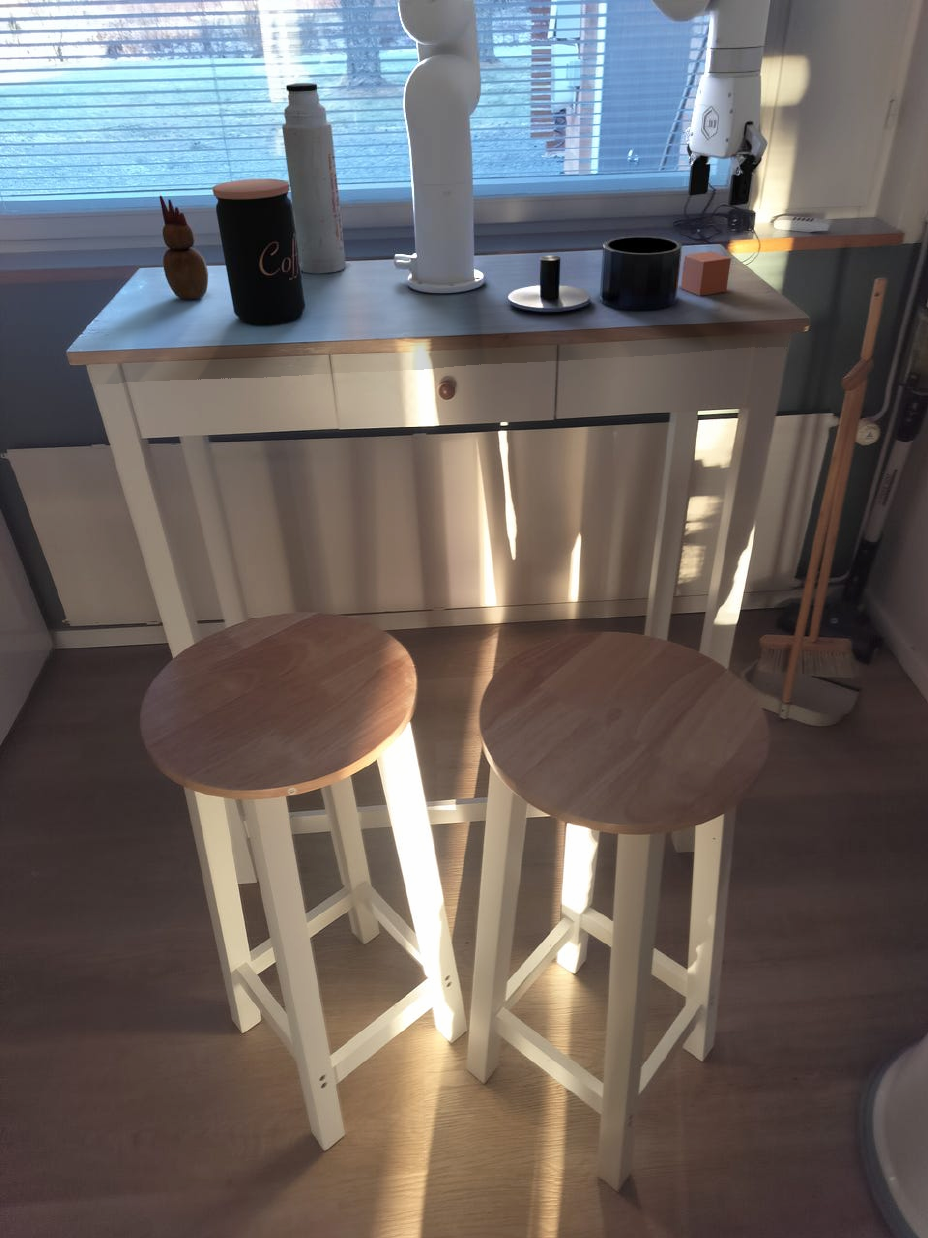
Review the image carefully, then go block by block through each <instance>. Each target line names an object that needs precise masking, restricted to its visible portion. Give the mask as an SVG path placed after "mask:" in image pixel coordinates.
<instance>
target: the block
mask: <svg viewBox="0 0 928 1238" xmlns="http://www.w3.org/2000/svg"><path fill="white" fill-rule="evenodd" d="M683 257H684V258H683V267H682V275H681V284H680V289H681V290H684V291H687V292H689V293H692V294H694V295H696V296H699V297H700V296H709V295H713V294H720V293H726V292H727V287H728V281H729V274H730V267H731V260H732V258H731V257H729V256H726V255H723V254H720V253H717V252H715V251H712V250H711V251H703V252H697V253H689V254H684V256H683Z"/></svg>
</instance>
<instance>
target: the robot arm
mask: <svg viewBox="0 0 928 1238" xmlns="http://www.w3.org/2000/svg"><path fill="white" fill-rule="evenodd" d="M650 2H651V3H652V4H653V5H654V6H655V8H657V10H658V11H659V12H660V13H661V14H662V15H663V16H664V17H665V18H666V19H668V20H670V21H672V22H678V23H685V22H688V21H691V20H694V19H696V18H699V17H705V16H709V24H708V25H709V26H708V35H707V36H708V37H707V45H706V55H705V63H704V64H705V65H704V73H703V74H702V75H701V76H700V81H699V84H698V88H697V92H696V97H695V101H694V107H693V113H692V119H691V126H689V127H688V128H687V129H686V130H685V138H686V145H687V146H686V151H687V154H688V157H689V158H688V164H689V166H690V169H689V180H688V190H687V194H688V195H689V196H698V195H699V196H700V195H705V194H707V193H708V190H709V185H710V184H709V182H710V175H711V174H710V173H711V163H709V161H710V159H711V158H714V159H720V160H727V159H730V161H731V165H732V168H733V171H734V174H731V177H730V183H729V191H728V200H727V204H728V206H729V207H730V206H731V207H734V206H741V205H742V206H743V205H747V204H748V203H749V200H750V193H751V186H752V179H753V174H755V173H756V172H757V167H758V166H759V165H760V164H761V162H762V160H763V156H764V154H765V151H766V150H767V147H768V140H767V139H766V138H765V136H764V135H763V134H762V133H761V132H760V131H759V127H760V120H761V119H760V118H761V106H762V105H761V103H762V75H761V71H762V64H763V57H764V49H765V43H766V36H767V35H766V34H767V28H768V20H769V13H770V6H771V0H650ZM397 6H398V12H399V13H398V14H399V19H400V22H401V24H402V27H403V29H404V31H405V32H406V34H407V35H408V37H410V38H411V39H412V40H413V41H415V42H416V48H417V49H416V52H417V59H418V64H416V65H415V67H414V68H413V69H412V71H411V72H410V74H409V75H408V78H407V80H406V83H405V87H404V91H403V111H404V113H403V115H404V120H405V128H406V134H407V140H408V150H409V162H410V179H411V191H412V192H411V195H412V208H413V210H412V211H413V229H414V247H415V248H414V249H415V253H412V255H407V254H395V255H394V257H393V264H394V267H395V269H396V270H408V271H409V272H410V274H409V276H407V285H408V286H409V288H411V289H412V290H415V291H418V292H422V293H429V294H456V293H461V292H463V293H464V292H469V291H472V290H475V289H477V288H480V287H481V286H483V285H484V283H485V275H484V273H483V272H481V271H479V270H478V269H475V227H474V226H475V223H474V178H473V177H474V175H473V173H474V172H473V149H472V135H471V120H470V118H471V116H472V115H473V113H474V112H475V110H476V109H477V107H478V105H479V102H480V99H481V91H482V77H481V64H480V53H479V40H478V29H477V28H478V27H477V15H476V6H475V0H397ZM742 160H744V161H743V162H742Z"/></svg>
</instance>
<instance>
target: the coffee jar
mask: <svg viewBox="0 0 928 1238" xmlns="http://www.w3.org/2000/svg"><path fill="white" fill-rule="evenodd" d="M289 192H290V183H289V181H287V180H284V179H278V178H247V179H246V178H245V179H237V180H230V181H225V182H221V183H217V184H215V185H214V186H212V193H213V196H214V197H215V198H216V199H217V203H216V206H215V213H216V218H217V223H218V229H219V230H218V231H219V236H220V241H221V246H222V252H223V258H224V262H225V269H226V274H227V279H228V280H227V281H228V285H229V291H230V297H231V303H232V307H233V314H235V316H236V317H237V318H238V319H239V320H240V321H241V322H242V323H243V324H247V325H253V326H275V325H281V324H286V323H287V324H288V323H289V322H293V321H296V320H297V319H299V318H301V316H302V315H303V312H304V310H305V308H306V302H305V294H304V293H305V292H304V287H303V286H304V285H303V278H302V270H301V267H300V259H299V252H298V244H297V236H296V227H295V217H294V211H293V205H292V200H291V199H290V198H289V197H288V194H289Z"/></svg>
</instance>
